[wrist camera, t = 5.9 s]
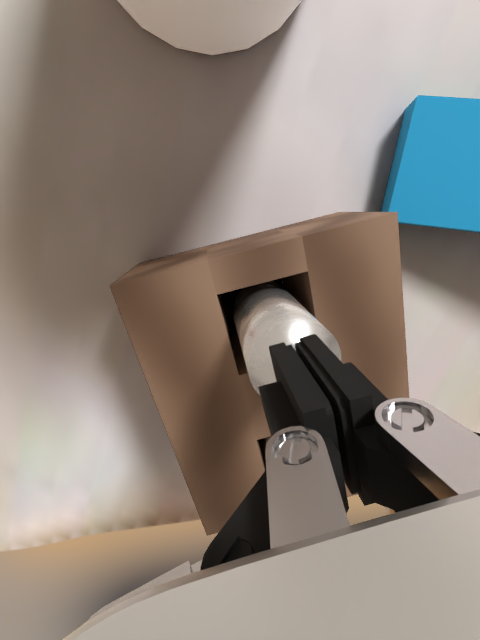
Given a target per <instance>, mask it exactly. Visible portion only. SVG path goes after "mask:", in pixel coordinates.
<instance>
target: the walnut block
mask: <svg viewBox="0 0 480 640" xmlns="http://www.w3.org/2000/svg"><path fill="white" fill-rule="evenodd" d="M280 278H282V281H283V286H284V289H285V290H286V291H288V292H289V293H290V294H291V295H292V296H293V297H294V298H295V299H296V300H297V301H298V302H299V303H300V304H301V305H302V306H303V307H304V308H305V309H306V310H307V311H308V312H309V313H311V314H312V315H313V316H314V317H315V318H316V319H317V320H318V321H319V322H320V323H321V324H322V325H323V326H324V327H325V328H326V329H327V330H328V331H329V332H330V333H331V334H332V335H333V336H334V337H335V339H336V340H337V342H338V344H339V347H340V350H341V358H342V361H341V362H342V363H343V364H344V363H348V362H351V363H352V364H354V365H355V366H356V367H357V368H358V369H359V370H360V371H361V372H362V373H363V374H364V375H365V376H366V378H367V379H368V380H369V381H370V382H371V383H372V384H373V385H374V386H375V387H376V388H377V389H378V390H379V391H380V392H381V393H382V394H383V395H384V396H385V397H386V398H387V399H388V400H390V399H394V398H409V387H408V371H407V355H406V339H405V323H404V307H403V291H402V275H401V259H400V242H399V226H398V212H338V213H334V214H330V215H326V216H322V217H318V218H314V219H310V220H306V221H303V222H299V223H295V224H291V225H287V226H283V227H279V228H275V229H271V230H267V231H263V232H260V233H256V234H252V235H248V236H244V237H240V238H236V239H232V240H228V241H224V242H221V243H217V244H213V245H209V246H205V247H201V248H197V249H193V250H189V251H185V252H182V253H178V254H174V255H170V256H166V257H162V258H158V259H154V260H150V261H146V262H142V263H139V264H138V265H136V266H135V267H134V268H133V269H131V270H130V271H129V272H127V273H126V274H125V275H123V276H122V277H121V278H119V279H118V280H117V281H115V282H114V283H113V284H111V285H110V288H111V291H112V293H113V296H114V298H115V301H116V303H117V306H118V309H119V311H120V314H121V316H122V319H123V321H124V324H125V327H126V329H127V332H128V334H129V337H130V339H131V342H132V344H133V347H134V350H135V352H136V355H137V357H138V360H139V362H140V365H141V368H142V370H143V373H144V375H145V378H146V380H147V383H148V385H149V388H150V391H151V393H152V396H153V398H154V401H155V403H156V406H157V408H158V411H159V414H160V416H161V419H162V421H163V424H164V426H165V429H166V432H167V434H168V437H169V439H170V442H171V444H172V447H173V449H174V452H175V455H176V457H177V460H178V462H179V465H180V467H181V470H182V473H183V475H184V478H185V480H186V483H187V485H188V488H189V490H190V493H191V496H192V498H193V501H194V503H195V506H196V508H197V511H198V514H199V516H200V519H201V521H202V524H203V526H204V529H205V531H206V534H207V535H211V534H215V533H218V532H220V530H221V529H222V528H223V526H224V525H225V524H226V522H227V521H228V520H229V518H230V517H231V516H232V514H233V513H234V512H235V510H236V509H237V508H238V506H239V505H240V504H241V502H242V501H243V500H244V498H245V497H246V496H247V494H248V493H249V492H250V490H251V489H252V488H253V486H254V485H255V484H256V482H257V481H258V480H259V478H260V477H261V476H262V474H263V473H264V472H265V470H266V454H265V450H266V441H265V438H266V437H270V436H271V433H270V430H269V427H268V423H267V420H266V416H265V412H264V408H263V404H262V401H261V397H260V395H259V394H258V393H257V392H256V391H255V389H254V388H253V386H252V384H251V381H250V378H249V375H248V371H247V367H246V363H245V360H244V356H243V352H242V348H241V345H240V341H239V337H238V333H237V330H236V328H235V329H231V330H229V326H228V322H227V319H226V315H225V311H224V308H223V304H222V300H221V296H220V294H222V293H226V292H230V291H233V290H237V289H241V288H245V287H249V286H253V285H257V284H260V283H264V282H268V281H272V280H276V279H280ZM345 487H346V493H347V497H349V496H353V495H356V494H358V493H356V494H353V495H352V494H351V493H350V491H349V489H348V487H347V486H346V484H345Z"/></svg>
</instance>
